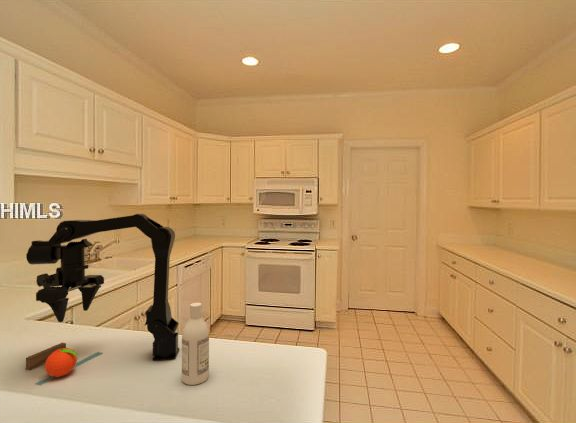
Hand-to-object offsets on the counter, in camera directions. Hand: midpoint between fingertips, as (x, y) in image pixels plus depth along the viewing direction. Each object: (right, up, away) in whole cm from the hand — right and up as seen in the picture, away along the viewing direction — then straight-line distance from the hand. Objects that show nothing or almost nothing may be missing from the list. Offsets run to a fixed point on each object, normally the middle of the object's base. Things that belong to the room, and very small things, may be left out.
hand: (73, 315), depth 87 cm
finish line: (+1, -14, -2) cm, 14 cm away
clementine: (+1, -14, -6) cm, 15 cm away
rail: (-8, -14, 0) cm, 16 cm away
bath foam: (+38, -14, -7) cm, 41 cm away
